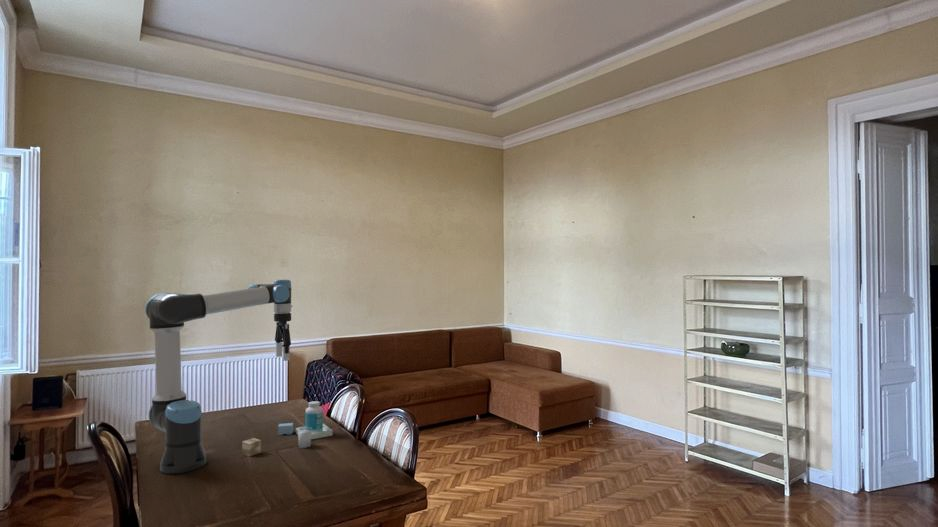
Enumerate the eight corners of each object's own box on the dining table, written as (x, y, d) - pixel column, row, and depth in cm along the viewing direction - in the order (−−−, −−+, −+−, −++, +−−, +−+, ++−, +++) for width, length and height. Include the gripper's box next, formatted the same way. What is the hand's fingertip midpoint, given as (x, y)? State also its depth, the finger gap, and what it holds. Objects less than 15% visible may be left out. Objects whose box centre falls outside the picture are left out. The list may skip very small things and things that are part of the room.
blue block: (278, 435, 227) (278, 426, 227) (279, 432, 230) (279, 423, 231) (292, 434, 228) (292, 425, 228) (293, 431, 232) (293, 422, 232)
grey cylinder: (300, 448, 209) (300, 434, 209) (296, 445, 213) (296, 431, 213) (312, 446, 212) (312, 432, 212) (308, 443, 216) (308, 429, 216)
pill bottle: (319, 435, 223) (319, 404, 224) (303, 435, 224) (303, 404, 224) (324, 430, 231) (324, 400, 231) (308, 430, 231) (308, 400, 231)
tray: (304, 440, 219) (304, 435, 219) (295, 433, 229) (295, 428, 229) (332, 435, 226) (332, 430, 226) (323, 428, 236) (323, 423, 236)
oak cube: (249, 456, 201) (249, 443, 201) (242, 453, 204) (242, 441, 204) (260, 452, 205) (260, 440, 205) (253, 450, 208) (253, 438, 208)
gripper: (298, 314, 228) (298, 361, 228) (284, 310, 249) (284, 354, 248) (280, 314, 224) (280, 363, 224) (268, 311, 245) (268, 355, 244)
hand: (282, 358), depth 236 cm, fingers open, 13 cm apart
